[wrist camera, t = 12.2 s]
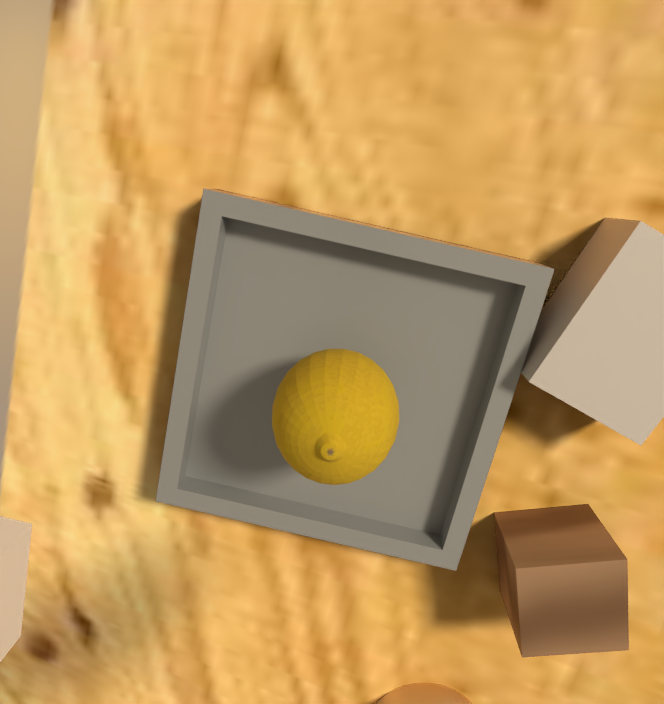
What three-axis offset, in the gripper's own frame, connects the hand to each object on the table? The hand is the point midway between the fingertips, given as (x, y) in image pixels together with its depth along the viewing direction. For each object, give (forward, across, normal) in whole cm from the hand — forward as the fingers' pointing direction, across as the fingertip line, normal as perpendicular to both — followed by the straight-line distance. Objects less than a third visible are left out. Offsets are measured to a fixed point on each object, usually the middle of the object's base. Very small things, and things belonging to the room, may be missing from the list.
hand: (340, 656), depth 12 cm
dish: (+19, -1, -1) cm, 19 cm away
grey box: (+20, +11, +6) cm, 23 cm away
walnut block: (+19, +12, -8) cm, 24 cm away
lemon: (+18, -1, -1) cm, 18 cm away
